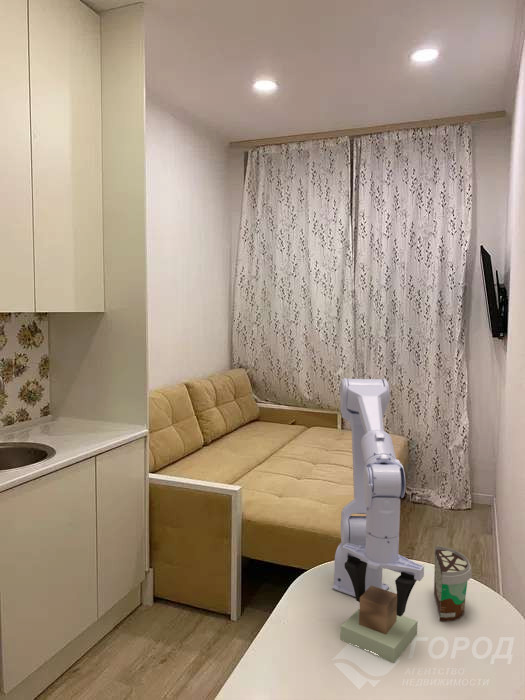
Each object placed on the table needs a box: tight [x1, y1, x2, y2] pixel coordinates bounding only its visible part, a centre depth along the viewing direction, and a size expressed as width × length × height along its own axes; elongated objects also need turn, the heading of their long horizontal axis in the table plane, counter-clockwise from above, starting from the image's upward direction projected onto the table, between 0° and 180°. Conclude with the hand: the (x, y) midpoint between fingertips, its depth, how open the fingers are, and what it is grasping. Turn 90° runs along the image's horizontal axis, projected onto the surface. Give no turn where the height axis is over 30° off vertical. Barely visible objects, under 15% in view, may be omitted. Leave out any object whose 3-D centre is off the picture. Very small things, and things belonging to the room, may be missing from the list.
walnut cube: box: [359, 586, 397, 634], centre depth 94 cm, size 5×5×5 cm
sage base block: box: [340, 609, 418, 664], centre depth 94 cm, size 10×10×3 cm
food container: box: [433, 545, 473, 622], centre depth 103 cm, size 12×6×10 cm, turn 168°
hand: (380, 605), depth 94 cm, fingers open, 7 cm apart
